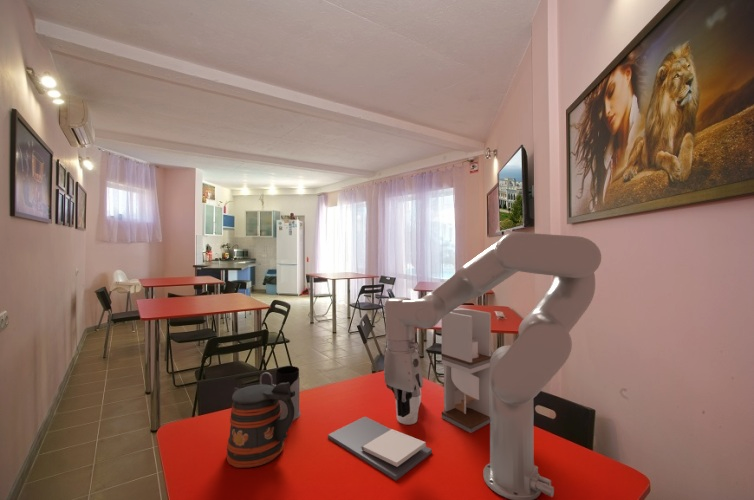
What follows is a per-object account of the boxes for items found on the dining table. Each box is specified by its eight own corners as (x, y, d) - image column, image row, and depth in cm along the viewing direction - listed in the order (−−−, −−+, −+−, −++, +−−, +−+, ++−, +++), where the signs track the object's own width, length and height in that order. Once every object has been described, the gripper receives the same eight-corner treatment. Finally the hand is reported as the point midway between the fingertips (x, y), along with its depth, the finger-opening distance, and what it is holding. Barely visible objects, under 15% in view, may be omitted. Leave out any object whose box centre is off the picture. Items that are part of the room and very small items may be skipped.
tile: (390, 428, 96) (390, 432, 96) (361, 445, 88) (361, 449, 88) (425, 442, 88) (425, 446, 88) (396, 462, 79) (397, 467, 79)
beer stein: (307, 442, 93) (307, 372, 93) (281, 476, 79) (282, 393, 79) (248, 434, 97) (249, 366, 98) (213, 464, 83) (214, 386, 83)
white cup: (419, 414, 110) (419, 384, 110) (419, 426, 102) (419, 394, 102) (395, 413, 110) (395, 383, 111) (394, 425, 103) (394, 393, 103)
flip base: (431, 453, 88) (431, 449, 88) (395, 480, 77) (396, 476, 77) (364, 419, 106) (364, 416, 106) (328, 438, 95) (328, 434, 95)
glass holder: (294, 422, 104) (294, 375, 104) (253, 419, 106) (253, 372, 106) (304, 409, 113) (304, 366, 113) (266, 406, 115) (266, 364, 115)
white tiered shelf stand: (441, 418, 107) (441, 311, 108) (462, 408, 114) (461, 308, 114) (470, 433, 98) (470, 316, 99) (491, 422, 105) (490, 312, 105)
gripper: (432, 345, 84) (435, 417, 84) (389, 338, 94) (391, 402, 94) (414, 352, 79) (418, 429, 78) (370, 343, 89) (373, 411, 88)
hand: (403, 414), depth 86 cm, fingers closed
